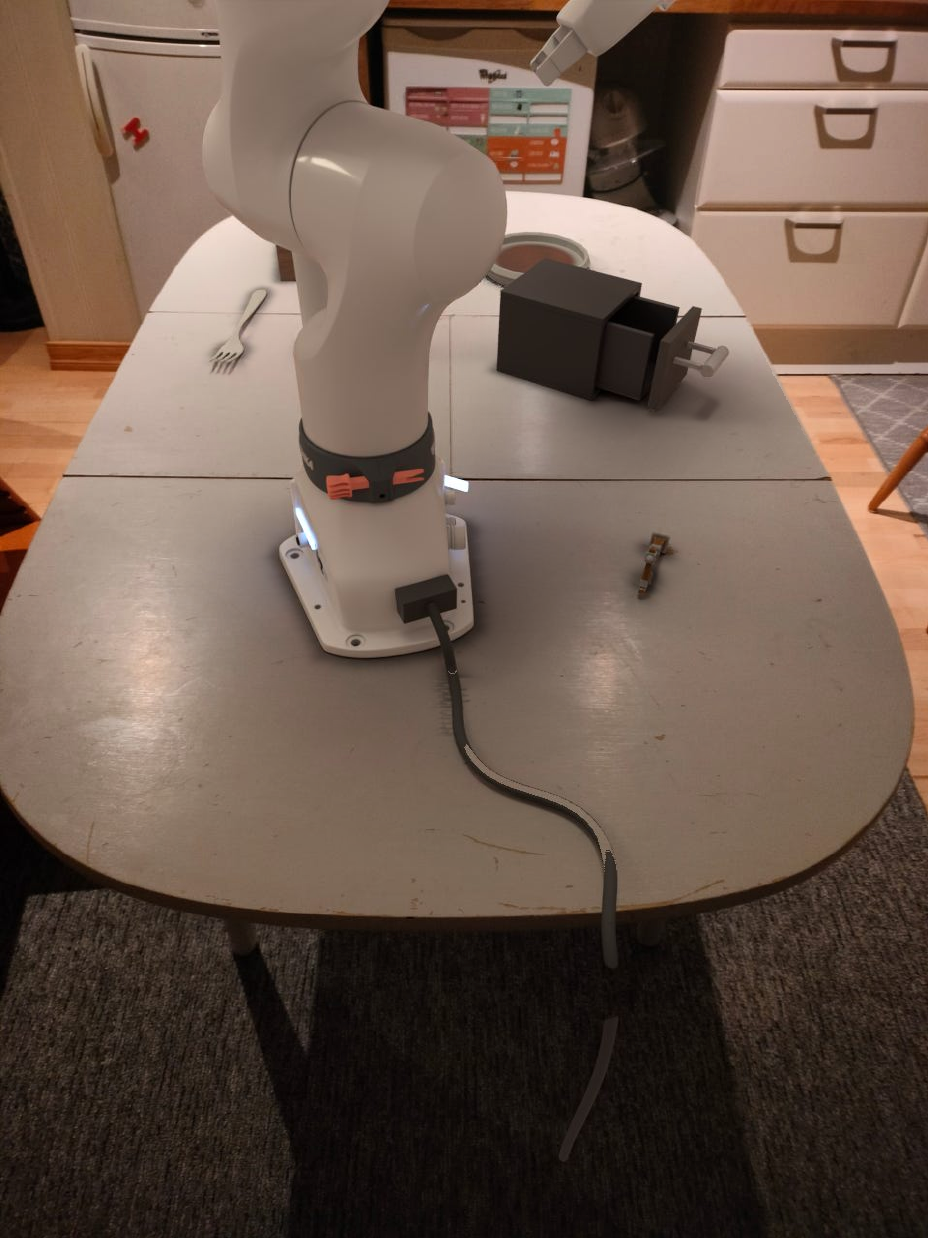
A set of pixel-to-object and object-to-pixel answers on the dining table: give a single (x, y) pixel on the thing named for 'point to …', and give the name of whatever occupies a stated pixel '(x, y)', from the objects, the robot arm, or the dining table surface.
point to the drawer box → (558, 324)
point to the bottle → (310, 286)
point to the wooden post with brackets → (652, 558)
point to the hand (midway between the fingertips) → (537, 75)
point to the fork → (234, 343)
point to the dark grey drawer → (651, 350)
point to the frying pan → (534, 254)
